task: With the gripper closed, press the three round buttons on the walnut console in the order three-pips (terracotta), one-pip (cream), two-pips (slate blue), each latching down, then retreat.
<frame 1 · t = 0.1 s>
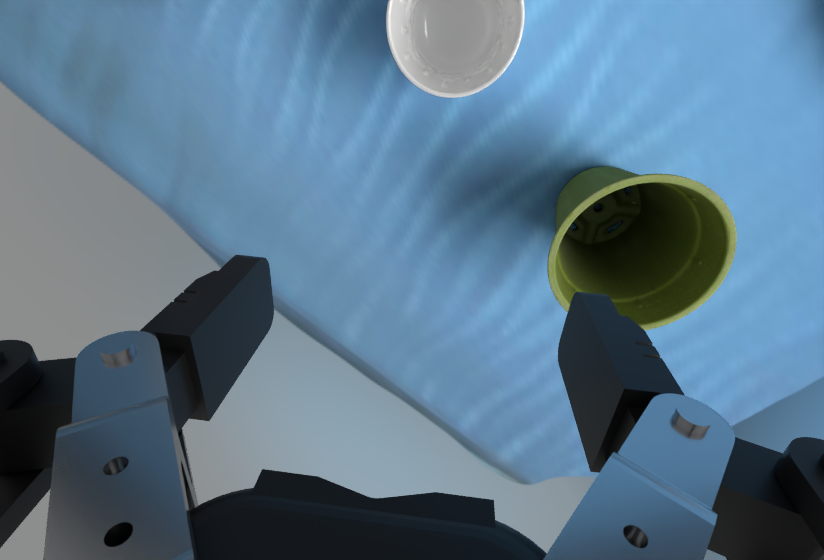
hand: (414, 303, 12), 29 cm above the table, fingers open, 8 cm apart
plant pot: (594, 205, 39), on the table
white cup: (456, 27, 34), on the table
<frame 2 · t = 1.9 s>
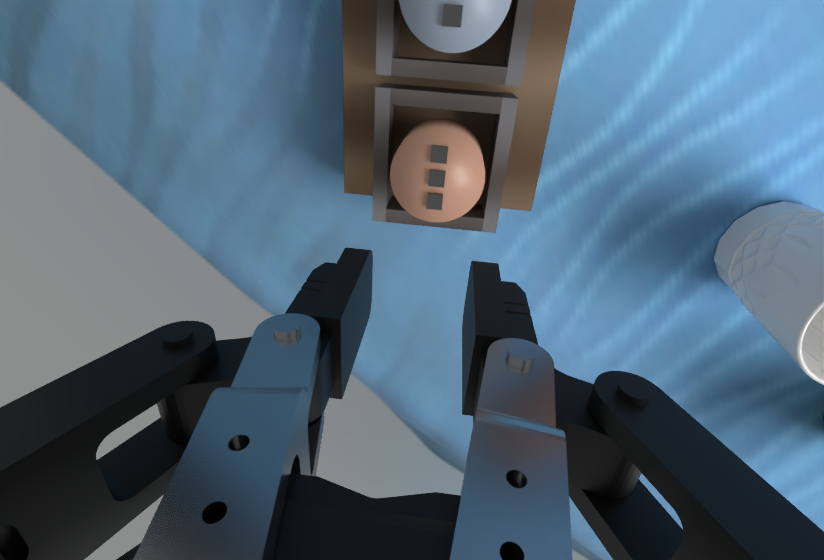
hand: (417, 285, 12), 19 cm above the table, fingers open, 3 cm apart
button three: (438, 170, 23), point 7 cm above the table, slide at 0.0 cm
console: (457, 2, 25), on the table
white cup: (764, 245, 30), on the table
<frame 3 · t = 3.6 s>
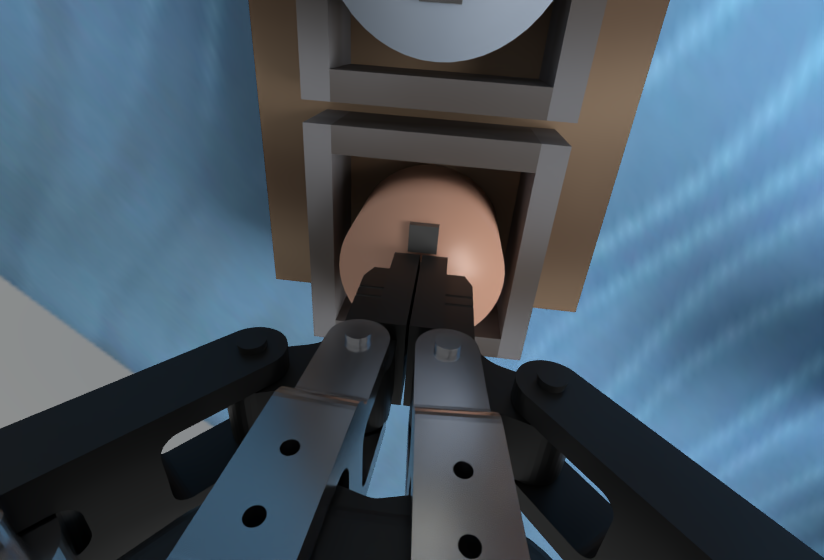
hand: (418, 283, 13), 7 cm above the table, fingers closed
button three: (424, 253, 14), point 5 cm above the table, slide at 1.4 cm, touching gripper
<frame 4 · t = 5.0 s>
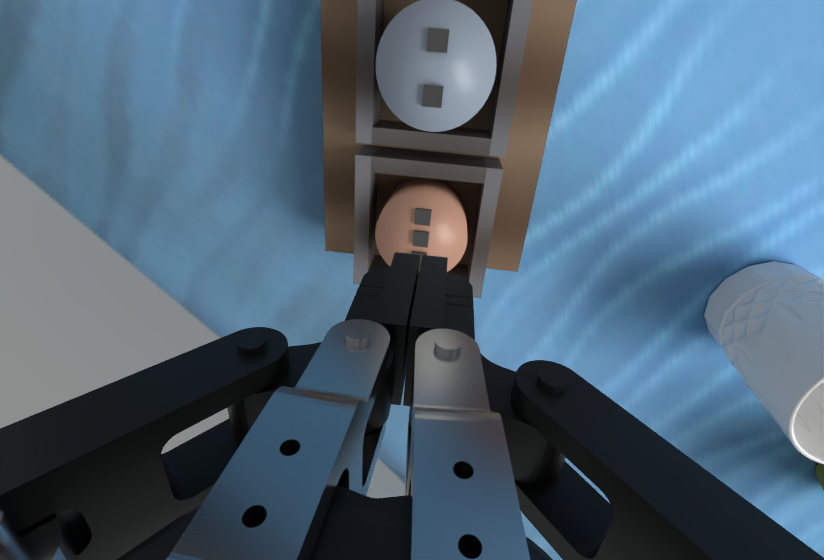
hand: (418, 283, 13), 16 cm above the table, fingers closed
button three: (422, 228, 24), point 5 cm above the table, slide at 1.7 cm
button two: (436, 67, 19), point 7 cm above the table, slide at 0.0 cm
console: (441, 62, 25), on the table
white cup: (755, 303, 30), on the table
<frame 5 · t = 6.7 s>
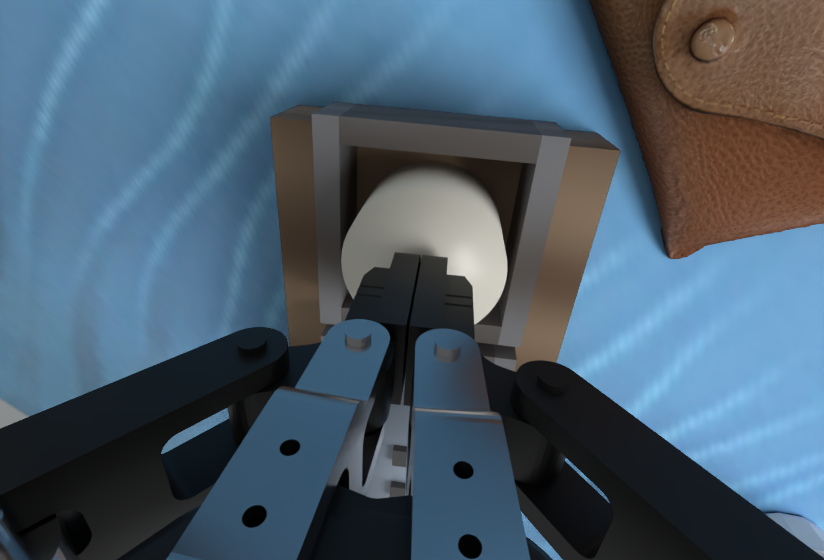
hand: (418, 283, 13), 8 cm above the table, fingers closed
button two: (407, 441, 17), point 7 cm above the table, slide at 0.0 cm
console: (422, 338, 23), on the table
sunglasses case: (711, 15, 15), on the table
button one: (426, 250, 14), point 6 cm above the table, slide at 0.8 cm, touching gripper
white cup: (759, 540, 28), on the table
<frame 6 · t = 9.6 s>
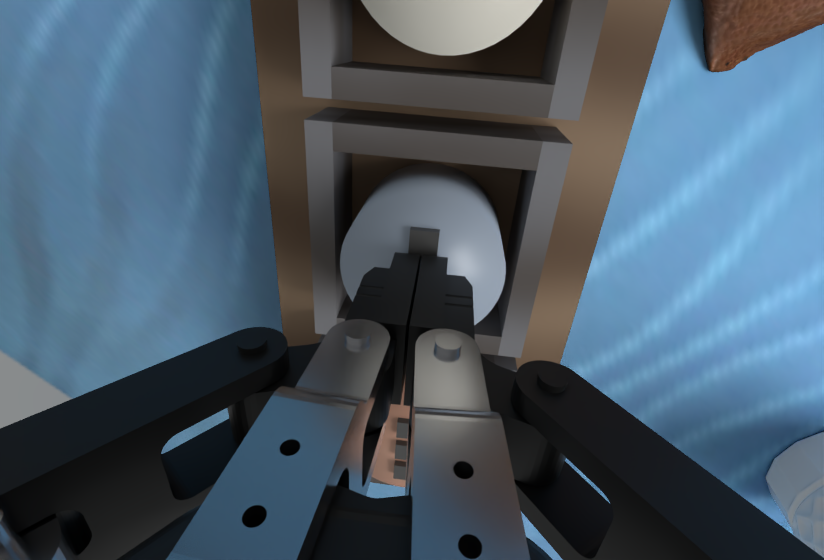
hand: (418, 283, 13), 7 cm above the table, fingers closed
button three: (410, 420, 18), point 5 cm above the table, slide at 1.7 cm
button two: (425, 252, 14), point 5 cm above the table, slide at 1.3 cm, touching gripper
console: (435, 196, 19), on the table
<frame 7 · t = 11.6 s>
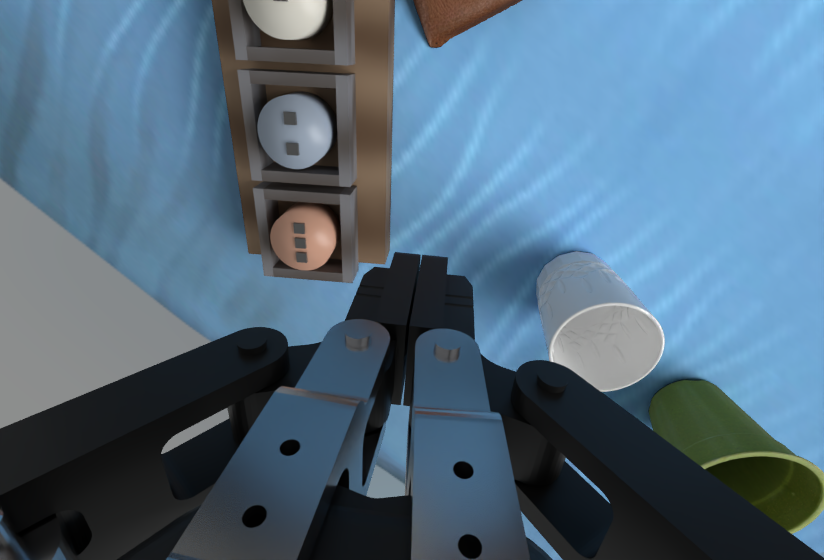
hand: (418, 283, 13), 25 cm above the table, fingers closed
button three: (306, 235, 35), point 5 cm above the table, slide at 1.7 cm
button two: (298, 130, 31), point 5 cm above the table, slide at 1.7 cm
console: (318, 119, 35), on the table
plant pot: (681, 403, 46), on the table
white cup: (572, 282, 40), on the table
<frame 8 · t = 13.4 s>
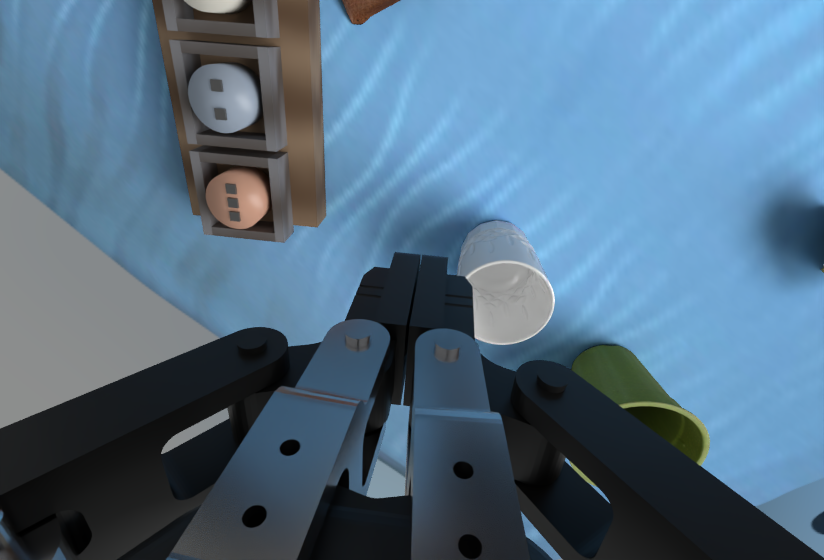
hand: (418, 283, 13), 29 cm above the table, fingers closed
button three: (241, 197, 38), point 5 cm above the table, slide at 1.7 cm
button two: (228, 97, 34), point 5 cm above the table, slide at 1.7 cm
console: (255, 90, 38), on the table
platform: (821, 243, 40), on the table
plant pot: (601, 367, 49), on the table
white cup: (494, 250, 44), on the table
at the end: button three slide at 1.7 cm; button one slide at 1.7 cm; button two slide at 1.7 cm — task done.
